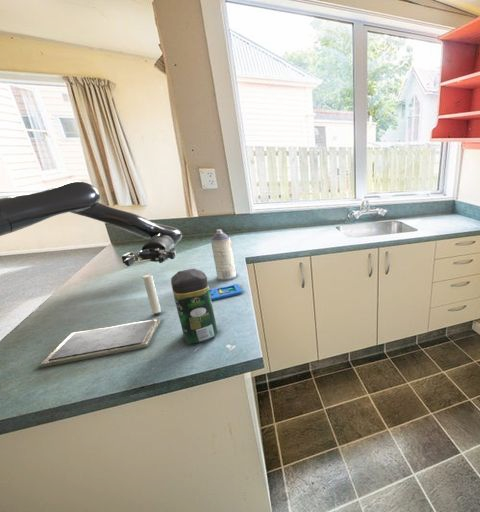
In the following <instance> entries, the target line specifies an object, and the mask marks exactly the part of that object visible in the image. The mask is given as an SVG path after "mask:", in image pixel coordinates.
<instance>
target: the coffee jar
mask: <svg viewBox="0 0 480 512" xmlns="http://www.w3.org/2000/svg"><path fill="white" fill-rule="evenodd" d="M170 279H171V280H170V282H171V283H170V285H171V289H172V294H173V298H174V303H175V307H176V311H177V315H178V319H179V323H180V326H181V331H182V334H183V338H184V340H185V341H186V343H187V344H200V343H205V342H207V341H210V340H211V339H213V338H214V337H216V336H217V335H218V327H217V326H218V325H217V321H216V318H215V312H214V307H213V302H212V300H211V297H210V292H209V290H210V287H209V282H208V277H207V275H206V274H205V272H203V270H199V269H196V268H190V269H184V270H179V271H177V272H176V273H175V274H174V275H172V277H171V278H170Z"/></svg>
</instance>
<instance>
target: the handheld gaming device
mask: <svg viewBox="0 0 480 512" xmlns="http://www.w3.org/2000/svg"><path fill="white" fill-rule="evenodd" d="M209 292H210V297H211V301H216V300H220V299H224V298H228V297H232V296H236V295H241V294H243V289H242V288H241V286H239V284H238V283H235V284H230V285H226V286H220V287H216V288H211V289H209Z"/></svg>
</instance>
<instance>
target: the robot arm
mask: <svg viewBox="0 0 480 512" xmlns="http://www.w3.org/2000/svg"><path fill="white" fill-rule="evenodd" d="M100 200H101V194H100V191H99V190H98V188H97V187H95V186H94V185H92V184H90V183H88V182H85V181H79V180H75V181H74V180H73V181H68V182H66V183H63V184H60V185H58V186H56V187H52V188H48V189H46V190H42V191H38V192H34V193H27V194H20V195H14V196H8V197H2V198H0V237H1V236H5V235H8V234H11V233H15V232H17V231H20V230H23V229H25V228H29V227H30V226H33V225H35V224H38V223H40V222H42V221H45V220H47V219H51V218H53V217H55V216H59V215H62V214H67V213H71V214H74V215H78V216H81V217H86V218H89V219H93V220H95V221H99V222H102V223H105V224H108V225H112V226H114V227H116V228H119V229H121V230H124V231H126V232H129V233H130V234H133V235H136V236H139V237H141V238H143V239H146V240H147V239H150V240H149V241H148V242H146V243H144V244H143V245H142V247H141V250H140V251H135V252H134V253H133V251H128V252H126V253H125V254H123V255H121V260H122V264H124V265H125V266H126V267H131V266H132V265H134V263H143V262H146V261H147V262H148V261H149V262H152V263H159V264H163V263H164V262H166V261H168V260H169V259H170V260H174V259H175V258H176V256H177V250H176V248H175V246H176V245H177V244H178V243H179V242H180V241H181V240H182V238H183V233H182V231H181V230H180V229H178V228H176V227H175V226H170V225H166V224H161V223H157V222H154V221H151V220H150V219H147V218H146V217H143V216H140V215H139V214H135V213H133V212H129V211H126V210H122V209H118V208H116V207H115V208H114V207H111V206H108V205H105V204H104V203H101V202H100ZM153 237H154V238H153ZM151 238H152V239H151Z"/></svg>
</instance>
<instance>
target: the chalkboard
mask: <svg viewBox="0 0 480 512" xmlns="http://www.w3.org/2000/svg"><path fill="white" fill-rule="evenodd" d="M161 320H162V319H161V318H154V319H148V320H142V321H136V322H130V323H124V324H118V325H112V326H106V327H100V328H93V329H87V330H81V331H74V332H71V333H70V334H69V335H68V336H67V337H66V338H65V339H64V340H63V341H61V343H60V344H59V345H58V346H57V347H56V348H55V349H54V350H53V351H52V352H51V353H50V354H49V355H48V356H47V357H46V358H45V359H43V361H42V362H41V363H40V367H41V368H47V367H52V366H57V365H58V366H59V365H62V364H67V363H72V362H78V361H83V360H88V359H93V358H100V357H105V356H108V355H109V356H110V355H114V354H119V353H125V352H129V351H130V352H131V351H135V350H140V349H146V348H148V347H149V345H150V342H151V340H152V338H153V337H154V335H155V333H156V331H157V329H158V328H159V325H160V324H161V322H162V321H161Z"/></svg>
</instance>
